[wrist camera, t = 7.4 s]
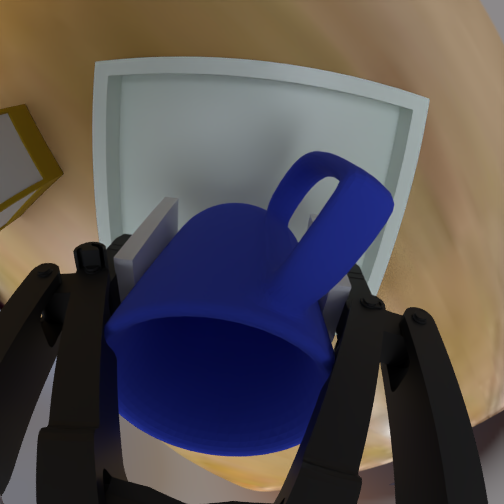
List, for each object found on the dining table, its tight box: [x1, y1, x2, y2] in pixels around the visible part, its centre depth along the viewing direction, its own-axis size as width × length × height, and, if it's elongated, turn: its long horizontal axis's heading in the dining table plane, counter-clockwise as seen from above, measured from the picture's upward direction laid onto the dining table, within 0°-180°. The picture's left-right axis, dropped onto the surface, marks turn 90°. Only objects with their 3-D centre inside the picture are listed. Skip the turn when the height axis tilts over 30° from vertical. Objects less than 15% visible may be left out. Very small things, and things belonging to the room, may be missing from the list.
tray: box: [92, 57, 430, 335], centre depth 20 cm, size 18×20×3 cm
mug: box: [104, 151, 394, 456], centre depth 13 cm, size 8×12×10 cm
